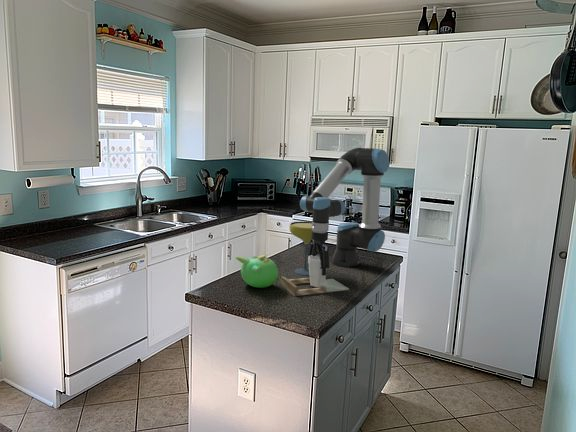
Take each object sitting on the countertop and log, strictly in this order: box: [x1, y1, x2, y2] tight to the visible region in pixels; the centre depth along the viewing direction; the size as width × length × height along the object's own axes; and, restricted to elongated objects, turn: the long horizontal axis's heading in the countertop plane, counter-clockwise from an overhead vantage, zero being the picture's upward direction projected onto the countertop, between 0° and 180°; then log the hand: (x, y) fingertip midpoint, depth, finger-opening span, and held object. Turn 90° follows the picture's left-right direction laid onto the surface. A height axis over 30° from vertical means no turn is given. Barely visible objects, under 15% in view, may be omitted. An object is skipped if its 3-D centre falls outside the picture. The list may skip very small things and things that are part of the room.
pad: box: [318, 278, 350, 293], centre depth 210 cm, size 12×15×1 cm
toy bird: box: [235, 254, 279, 289], centre depth 202 cm, size 18×17×15 cm
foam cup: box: [307, 254, 328, 288], centre depth 206 cm, size 10×9×13 cm
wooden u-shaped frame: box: [280, 275, 328, 297], centre depth 204 cm, size 16×15×4 cm
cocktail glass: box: [289, 221, 313, 276], centre depth 227 cm, size 18×18×25 cm
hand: (317, 278), depth 206 cm, fingers closed on foam cup, 9 cm apart
